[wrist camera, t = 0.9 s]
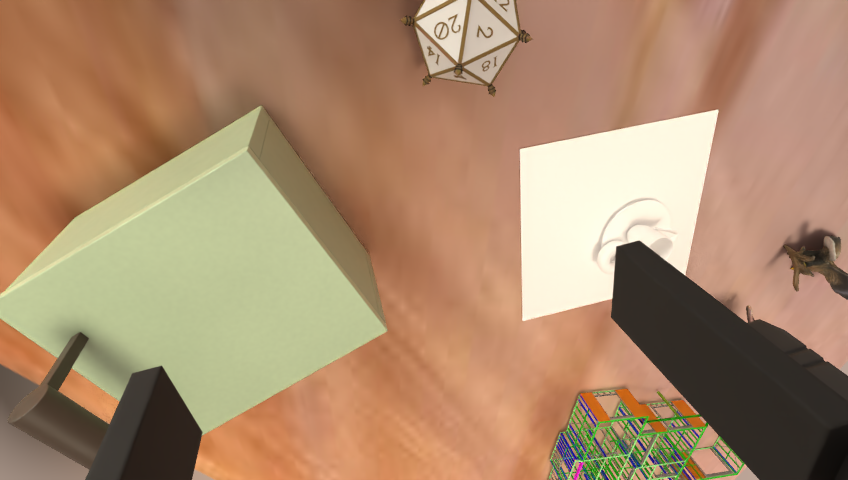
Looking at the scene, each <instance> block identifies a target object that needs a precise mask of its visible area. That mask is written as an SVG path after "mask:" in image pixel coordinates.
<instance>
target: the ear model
mask: <svg viewBox="0 0 848 480" xmlns="http://www.w3.org/2000/svg"><path fill="white" fill-rule="evenodd" d="M672 226H673V218H672V214H671V212H670V210H669V208H668V207H667V206H666V205H665V204H664V203H662V202H661V201H658V200H655V199H643V200H639V201H636V202H633V203H631V204H629V205H627V206H626V207H624V208H623V209H621V210H620V211H619V212H618V213H617V214H616V215H615V216H614V217H613V218H612V219H611V220H610V222H609V223H608V225H607V226H606V228H605V230H604V232H603V235H602V239H601V249H600V250H599V252H598V254H597V258H596V263H597V266H598V268H599V270H600V271H601V272H602V273H604V274H607V275H613V274H614V269H615V255H616V246H620V245H623V244H627V243H631V242H635V241H639V240H640V241H641V242H642V243H644V244H645V245H646V246H648V247H649V248H650V249H652V250H653V251H654V252H655V253H657V254H658V255H659V256H661V257H662V258H663V259H664V260H667V259H668V258H669V257H670V256H671V255H672V253H673V251H674V248H675V242H677V241H678V239H679V232H678V231H677V230H676V229H674V228H672ZM670 234H673V235H675V236H672V237H670Z"/></svg>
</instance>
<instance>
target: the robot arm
mask: <svg viewBox="0 0 848 480" xmlns="http://www.w3.org/2000/svg"><path fill="white" fill-rule="evenodd" d="M611 318H612V319H613V320H614V321H615V322H616V323H617V324H618V325H619V326H620V328H621V329H622V330H623V331H624V332H625V333H626V334H627V335H628V336H629V337H630V339H631V340H632V341H633V342H634V343H635V344H636V345H637V346H638V347H639V348H640V349H641V351H642V352H643V353H644V354H645V355H646V356H647V357H648V358H649V359H650V360H651V362H652V363H653V364H654V365H655V366H656V367H657V368H658V369H659V370H660V371H661V372H662V374H663V375H664V376H665V377H666V378H667V379H668V380H669V381H670V382H671V383H672V385H673V386H674V387H675V388H676V389H677V390H678V391H679V392H680V393H681V394H682V395H683V397H684V398H685V399H686V400H687V401H688V402H689V403H690V404H691V405H692V406H693V407H694V409H695V410H696V411H697V412H698V413H699V414H700V415H701V416H702V417H703V418H704V420H705V421H706V422H707V423H708V424H709V425H710V426H711V427H712V428H713V429H714V430H715V432H716V433H717V434H718V435H719V436H720V437H721V438H722V439H723V440H724V441H725V443H726V444H727V445H728V446H729V447H730V448H731V449H732V450H733V451H734V452H735V453H736V455H737V456H738V457H739V458H740V459H741V460H742V461H743V462H744V463H745V464H746V466H747V467H748V468H749V469H750V470H751V471H752V472H753V473H754V474H755V475H756V476H757V478H758V479H759V480H848V376H847V375H846V374H844V373H843V372H842V371H840V370H839V369H837V368H836V367H835V366H833V365H832V364H831V363H829V362H825V361H824V360H823V358H822V357H821V356H820V355H818V354H817V353H815V352H814V351H813V350H811V349H807V348H806V345H804V344H803V343H802V342H800V341H799V340H798V339H796V338H795V337H793V336H792V335H791V334H789V333H788V332H787V331H785V330H783V329H781V328H778V327H776V326H774V325H771V324H769V323H767V322H765V321H762V320H760V319H759V320H755V321H752V322H749V323H746V322H745V321H743V320H742V319H741V318H740V317H738V316H737V315H736V314H734V313H733V312H732V311H731V310H729V309H728V308H727V307H725V306H724V305H723V304H721V303H720V302H719V301H718V300H716V299H715V298H714V297H712V296H711V295H710V294H708V293H707V292H706V291H705V290H703V289H702V288H701V287H699V286H698V285H697V284H696V283H694V282H693V281H692V280H690V279H689V278H688V277H686V276H685V275H684V274H683V273H681V272H680V271H679V270H677V269H676V268H675V267H674V266H672V265H671V264H670V263H668V262H667V261H666V260H664V259H663V258H662V257H661V256H659V255H658V254H657V253H655V252H654V251H653V250H652V249H650V248H649V247H648V246H646V245H645V244H644V243H642V242H641V241H640V240H639V241H635V242H631V243H627V244H623V245H620V246H616V255H615V269H614V283H613V298H612V312H611ZM201 437H202V430H201V429H200V427H199V425H198V424H197V422H196V421H195V419H194V417H193V416H192V414H191V412H190V411H189V409H188V407H187V406H186V404H185V402H184V401H183V399H182V398H181V396H180V394H179V393H178V391H177V389H176V388H175V386H174V384H173V383H172V381H171V380H170V378H169V376H168V375H167V373H166V371H165V370H164V368H163V366H158V367H154V368H151V369H147V370H143V371H139V372H135V373H132V375H131V377H130V379H129V381H128V384H127V386H126V388H125V390H124V393H123V395H122V397H121V400H120V402H119V404H118V406H117V409H116V411H115V413H114V416H113V418H112V420H111V422H110V425H109V427H108V429H107V432H106V434H105V436H104V438H103V441H102V443H101V445H100V447H99V450H98V452H97V454H96V457H95V459H94V461H93V463H92V466H91V468H90V470H89V473H88V475H87V477H86V479H85V480H192V476H193V472H194V468H195V463H196V459H197V454H198V450H199V446H200V441H201Z"/></svg>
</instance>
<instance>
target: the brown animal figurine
mask: <svg viewBox="0 0 848 480" xmlns="http://www.w3.org/2000/svg"><path fill="white" fill-rule="evenodd" d="M784 248H785V249H786V250H787V251H788V252H787V254H788V255H789V258H791V260H792V263H793V266H794V267H793V268H791V269H793V270H794V276H793V286H794V288H795V290H796V291H799V288H798V284H799V274H800V273H802V274H804V275H811V276H812V277H814V275H813V274H812V272H811V271H814V272H819V273H821V274H823V275H824V276H825V278H826V280H827V281H828V282H829V283H830V285H831V287H832V289H833V290H834V291H835V292H836V293H838V294H839V295H841V296H842V297H844V298H846V299H848V274H847V273H846V272H844V271H843V270H841V269H840V268H838V267H837V266H836V265H835V264H834V262H833V261H835V260H836V259H837V258H838V256H839V255H840V252H841V239H840V237H838V238H837V237H834V236H830V237H829V236H825V238H824V247H823V249H821V250H817V251H812V250H806V251H805V247H804V246H803V247H801V250H800V251H798V252H797V251H794V250H793V249H792V248H790V247H789V246H787V245H784Z"/></svg>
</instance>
